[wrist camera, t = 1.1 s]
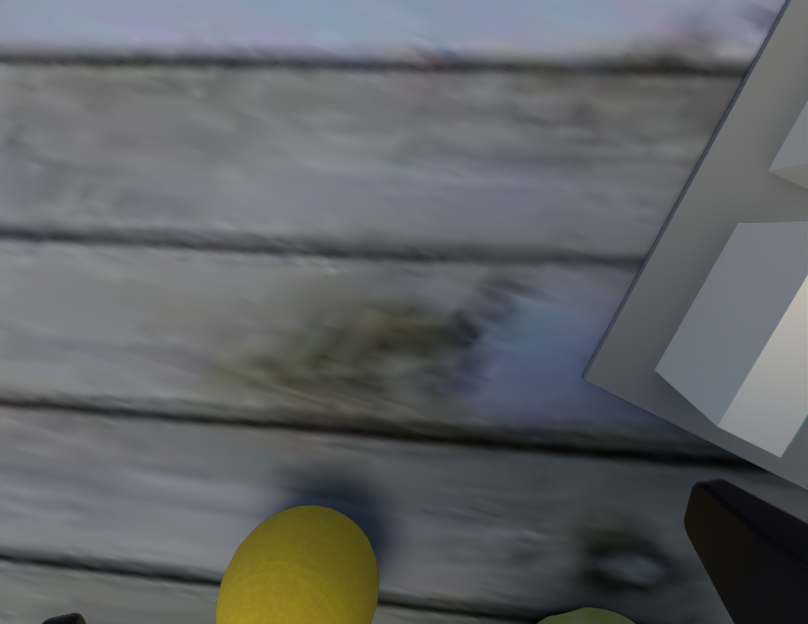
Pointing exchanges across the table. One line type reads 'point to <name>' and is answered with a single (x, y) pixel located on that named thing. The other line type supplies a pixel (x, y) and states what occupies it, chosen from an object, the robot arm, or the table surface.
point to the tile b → (794, 153)
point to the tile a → (749, 337)
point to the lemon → (301, 572)
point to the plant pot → (587, 617)
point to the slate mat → (715, 241)
